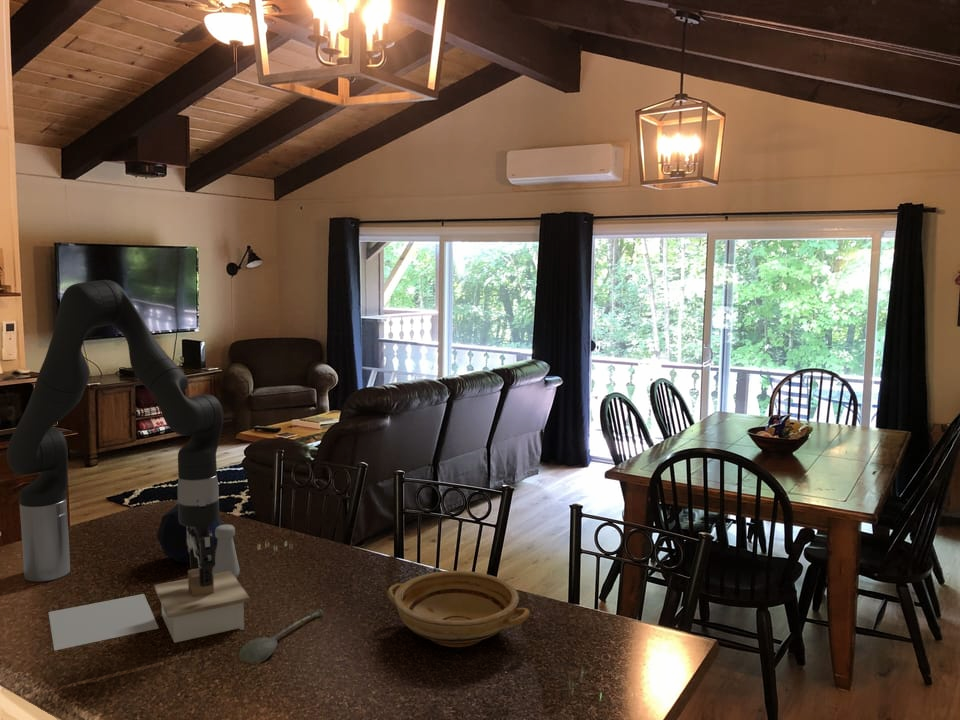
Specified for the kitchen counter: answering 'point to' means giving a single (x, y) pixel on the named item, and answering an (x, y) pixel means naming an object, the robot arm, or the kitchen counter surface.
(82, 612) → the tray
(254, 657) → the soupspoon
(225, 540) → the salt shaker
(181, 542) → the decorative orb
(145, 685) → the kitchen counter surface
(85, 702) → the kitchen counter surface
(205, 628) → the white open box
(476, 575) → the ceramic bowl
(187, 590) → the lid
